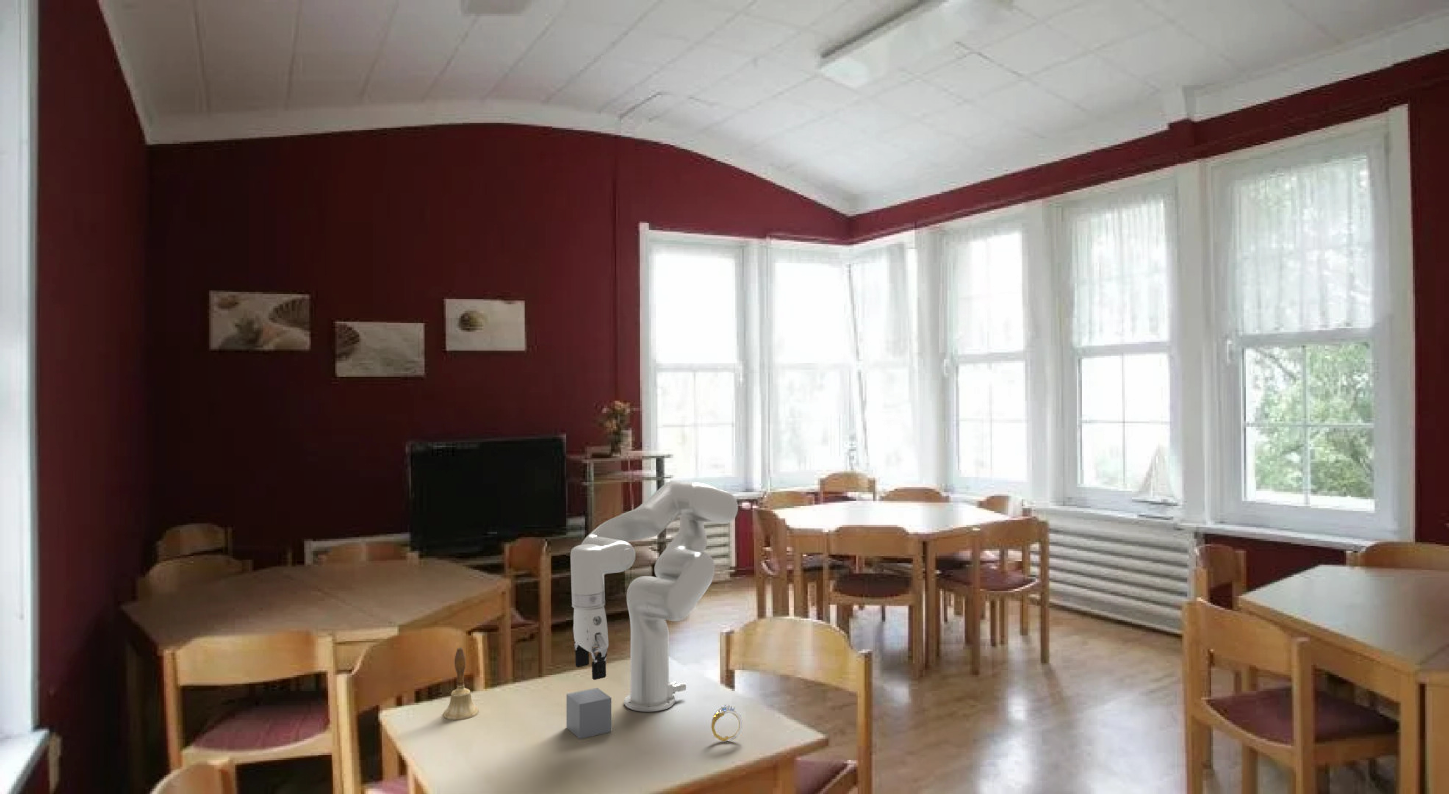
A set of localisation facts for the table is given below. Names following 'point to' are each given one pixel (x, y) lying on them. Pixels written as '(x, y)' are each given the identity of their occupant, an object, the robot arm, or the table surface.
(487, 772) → the table surface
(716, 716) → the ring
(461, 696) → the hand bell
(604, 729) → the grey cube
